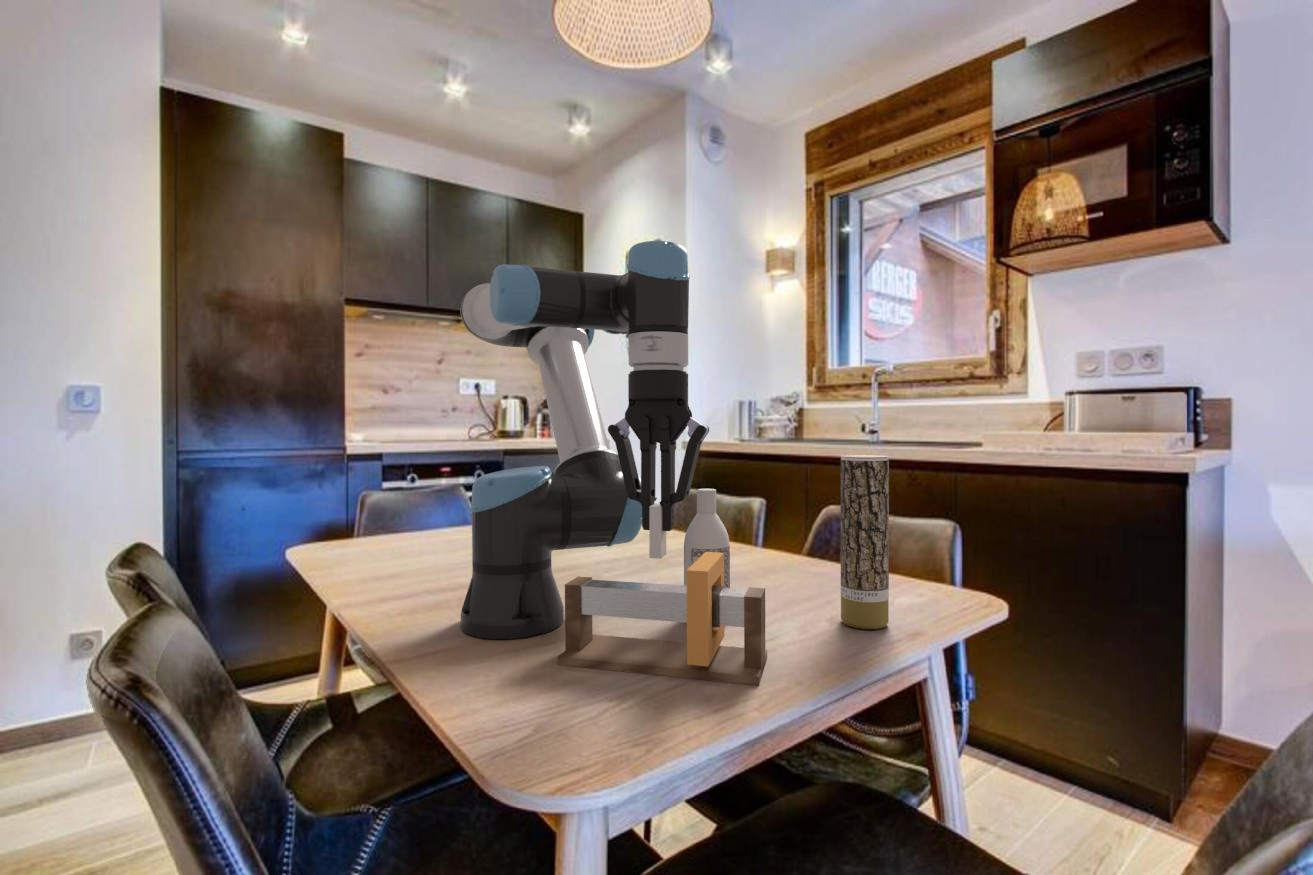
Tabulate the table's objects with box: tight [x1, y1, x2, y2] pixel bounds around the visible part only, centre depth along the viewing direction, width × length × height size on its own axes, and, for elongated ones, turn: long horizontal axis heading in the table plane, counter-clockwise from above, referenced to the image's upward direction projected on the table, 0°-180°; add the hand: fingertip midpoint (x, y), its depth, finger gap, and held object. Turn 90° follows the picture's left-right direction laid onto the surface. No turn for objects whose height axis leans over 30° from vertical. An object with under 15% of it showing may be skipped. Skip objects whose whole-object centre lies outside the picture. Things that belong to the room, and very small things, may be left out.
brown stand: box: [557, 576, 768, 686], centre depth 81 cm, size 25×9×10 cm, turn 74°
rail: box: [580, 579, 748, 628], centre depth 81 cm, size 22×4×4 cm, turn 74°
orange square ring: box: [686, 552, 725, 666], centre depth 79 cm, size 2×11×11 cm, turn 164°
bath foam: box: [683, 488, 731, 588], centre depth 98 cm, size 7×7×20 cm
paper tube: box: [840, 454, 890, 631], centre depth 95 cm, size 7×7×25 cm
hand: (658, 555), depth 81 cm, fingers closed
